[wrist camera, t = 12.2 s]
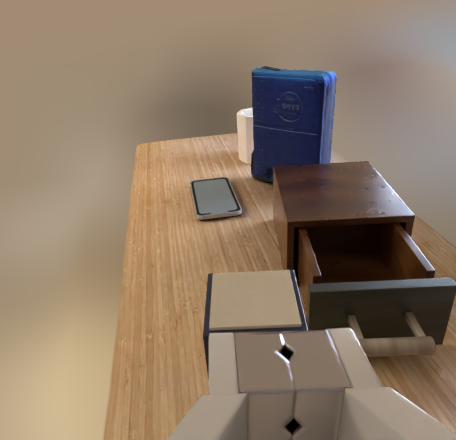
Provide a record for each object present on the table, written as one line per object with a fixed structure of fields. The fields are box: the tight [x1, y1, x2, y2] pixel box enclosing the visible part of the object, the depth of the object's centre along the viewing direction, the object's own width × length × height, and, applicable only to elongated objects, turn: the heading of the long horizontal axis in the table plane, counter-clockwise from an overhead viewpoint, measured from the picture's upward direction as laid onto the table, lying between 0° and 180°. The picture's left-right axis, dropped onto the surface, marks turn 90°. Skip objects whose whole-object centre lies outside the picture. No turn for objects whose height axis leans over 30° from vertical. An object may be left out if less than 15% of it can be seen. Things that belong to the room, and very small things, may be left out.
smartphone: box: [190, 177, 242, 220], centre depth 69 cm, size 7×1×15 cm
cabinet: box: [273, 161, 415, 285], centre depth 52 cm, size 17×14×9 cm
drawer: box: [294, 223, 456, 357], centre depth 41 cm, size 20×12×7 cm, turn 0°
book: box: [251, 66, 337, 183], centre depth 69 cm, size 14×5×20 cm, turn 53°
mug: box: [237, 108, 254, 164], centre depth 82 cm, size 12×9×10 cm
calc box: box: [203, 270, 308, 380], centre depth 25 cm, size 5×5×16 cm
